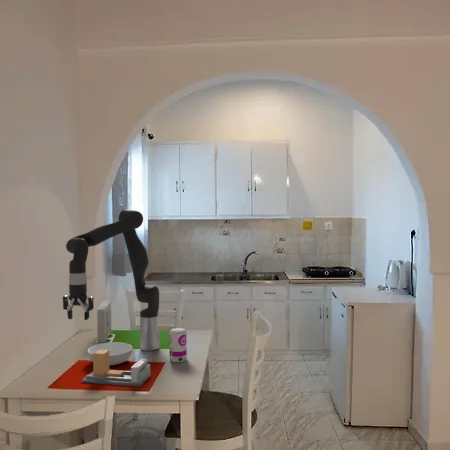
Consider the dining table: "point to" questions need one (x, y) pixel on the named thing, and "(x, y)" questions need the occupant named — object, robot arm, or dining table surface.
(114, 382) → the rail
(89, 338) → the dining table surface
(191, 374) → the dining table surface
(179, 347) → the supplement can
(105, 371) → the block
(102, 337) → the network device
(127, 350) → the serving bowl
